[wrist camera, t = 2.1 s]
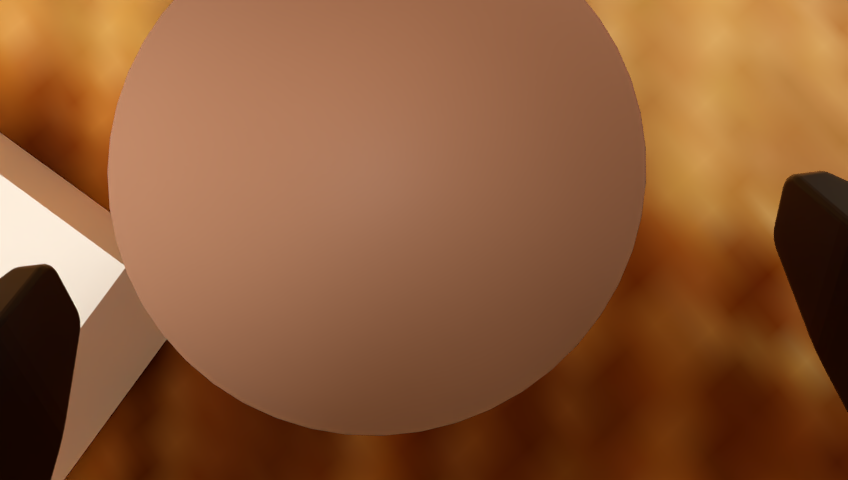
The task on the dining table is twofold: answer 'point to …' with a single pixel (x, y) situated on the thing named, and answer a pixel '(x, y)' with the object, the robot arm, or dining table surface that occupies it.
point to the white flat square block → (77, 289)
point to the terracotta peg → (376, 199)
